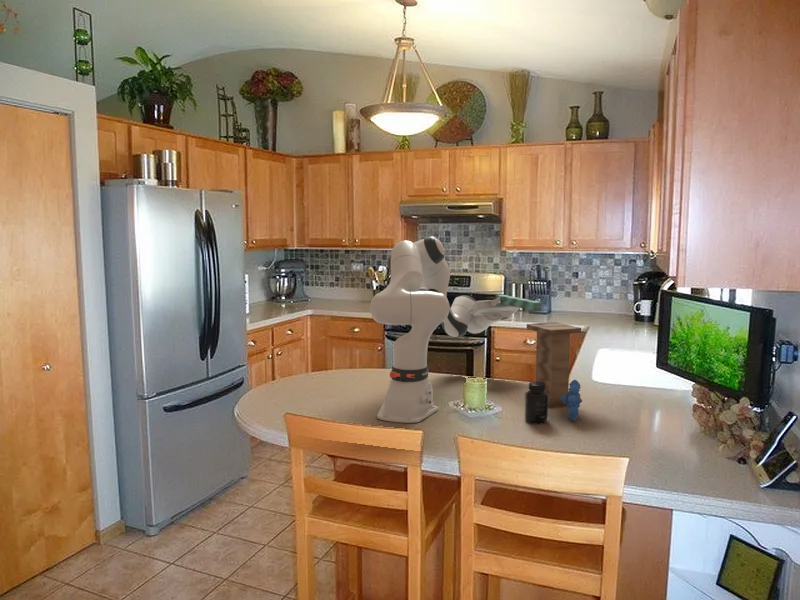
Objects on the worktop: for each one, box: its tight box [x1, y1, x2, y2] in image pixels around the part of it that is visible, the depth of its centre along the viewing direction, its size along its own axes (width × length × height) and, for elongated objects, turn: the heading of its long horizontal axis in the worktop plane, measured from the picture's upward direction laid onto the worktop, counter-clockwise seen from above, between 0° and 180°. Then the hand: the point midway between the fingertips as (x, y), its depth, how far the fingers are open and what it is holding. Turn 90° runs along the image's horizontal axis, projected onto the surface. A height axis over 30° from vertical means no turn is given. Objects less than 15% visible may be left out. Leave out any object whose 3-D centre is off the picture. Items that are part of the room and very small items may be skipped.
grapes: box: [560, 379, 583, 421], centre depth 185 cm, size 12×7×12 cm, turn 160°
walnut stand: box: [524, 321, 582, 409], centre depth 203 cm, size 14×12×26 cm
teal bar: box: [495, 294, 542, 312], centre depth 222 cm, size 26×3×3 cm, turn 22°
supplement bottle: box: [524, 380, 549, 425], centre depth 182 cm, size 7×7×12 cm
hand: (505, 298), depth 229 cm, fingers closed on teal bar, 3 cm apart
